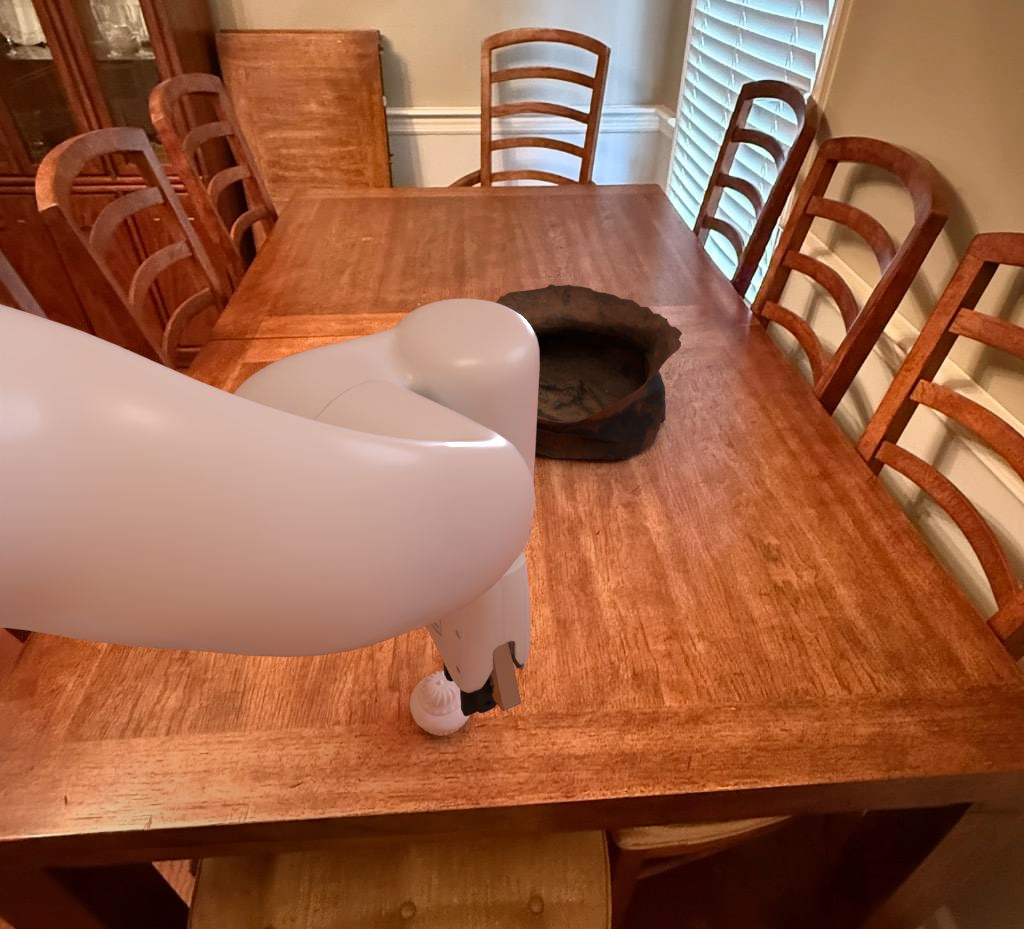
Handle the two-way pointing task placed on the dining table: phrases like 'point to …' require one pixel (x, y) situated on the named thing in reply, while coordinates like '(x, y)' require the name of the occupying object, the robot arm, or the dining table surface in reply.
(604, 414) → the bowl
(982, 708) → the dining table surface
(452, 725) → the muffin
